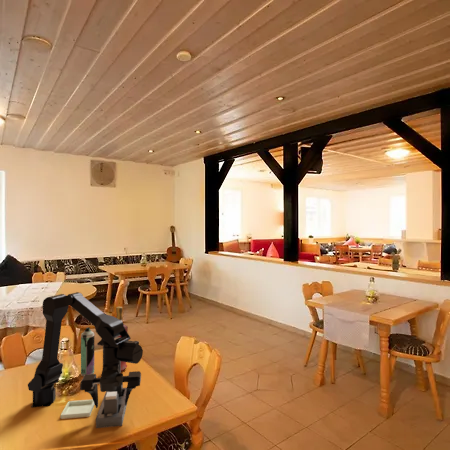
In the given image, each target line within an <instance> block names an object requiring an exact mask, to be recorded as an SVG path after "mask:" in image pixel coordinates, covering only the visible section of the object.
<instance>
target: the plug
mask: <svg viewBox="0 0 450 450" xmlns="http://www.w3.org/2000/svg"><path fill="white" fill-rule="evenodd" d="M118 395H119V394H117V391H116V392H107V394H106V397H105V400H104V414H109V413H118Z"/></svg>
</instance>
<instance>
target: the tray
mask: <svg viewBox="0 0 450 450" xmlns="http://www.w3.org/2000/svg"><path fill="white" fill-rule="evenodd" d="M94 406H95V404H94V401H93V398H91V399H80V400H69V401H68V402H67V403H66V405H65V406H64V409H63V410H62V411H61V414H60V420H61V419H62V420H64V419H65V420H66V419H75V418H76V419H77V418H86V417H87V418H89V417H91V414H92V412H93V409H94Z"/></svg>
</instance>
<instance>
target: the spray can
mask: <svg viewBox="0 0 450 450" xmlns="http://www.w3.org/2000/svg"><path fill="white" fill-rule="evenodd" d="M89 374H95V332H94V331H92V330H91V327H90V326H88V327H86V328H85V330H83V332H82V333H81V334H80V376H82V377H84V376H85V375H89Z"/></svg>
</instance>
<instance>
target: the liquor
mask: <svg viewBox="0 0 450 450" xmlns="http://www.w3.org/2000/svg"><path fill="white" fill-rule="evenodd" d="M115 313H116V317H115V318H117V319H119V320H121V321H122V322H123V306H117V307H115ZM123 323H124V322H123ZM123 326H124V327H125V329H126V331H127V332H128V325H126V324H124V325H123ZM120 337H121V336H118V337H116V338H114V340H116V339H118V338H120ZM127 367H128V365H127V362H122V361H121V372H124V371H125V370H126V368H127Z"/></svg>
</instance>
